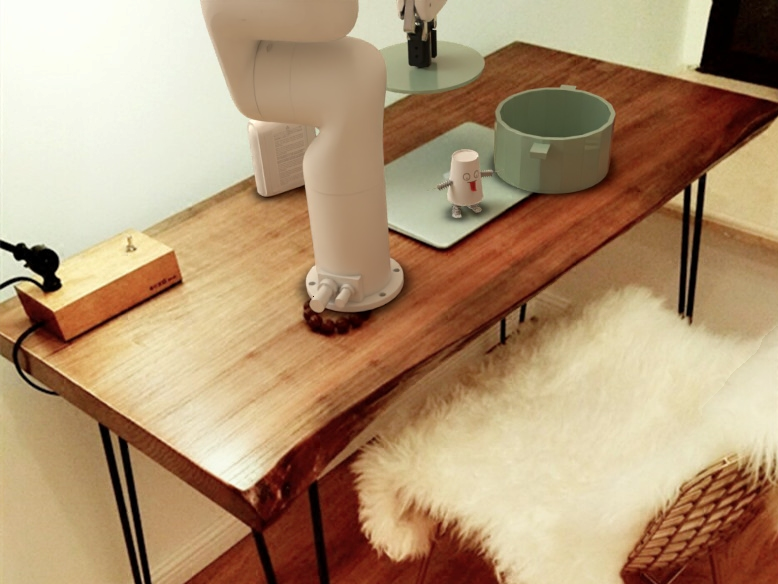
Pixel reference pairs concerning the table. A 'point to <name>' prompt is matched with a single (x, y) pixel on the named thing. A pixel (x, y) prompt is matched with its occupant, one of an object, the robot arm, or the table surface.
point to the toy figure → (465, 181)
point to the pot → (553, 139)
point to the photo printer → (278, 154)
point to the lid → (432, 68)
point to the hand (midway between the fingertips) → (422, 60)
